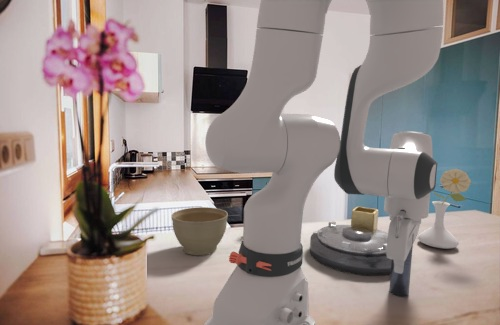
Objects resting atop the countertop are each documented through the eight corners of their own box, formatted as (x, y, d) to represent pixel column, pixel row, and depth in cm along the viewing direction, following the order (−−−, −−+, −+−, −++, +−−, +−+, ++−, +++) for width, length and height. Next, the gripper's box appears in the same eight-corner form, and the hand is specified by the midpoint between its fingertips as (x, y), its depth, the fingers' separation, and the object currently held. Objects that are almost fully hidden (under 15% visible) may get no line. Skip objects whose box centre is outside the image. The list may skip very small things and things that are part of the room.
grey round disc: (390, 263, 80) (392, 233, 79) (305, 243, 92) (306, 217, 91) (404, 237, 99) (406, 213, 98) (332, 224, 111) (333, 202, 110)
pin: (407, 298, 72) (412, 236, 71) (387, 293, 74) (392, 232, 73) (409, 291, 76) (414, 231, 74) (391, 286, 78) (395, 228, 76)
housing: (396, 285, 78) (397, 267, 77) (295, 259, 92) (295, 243, 91) (411, 251, 100) (412, 237, 99) (327, 234, 114) (328, 221, 113)
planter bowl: (215, 237, 108) (216, 204, 107) (236, 255, 94) (236, 218, 93) (166, 244, 101) (165, 209, 100) (179, 265, 87) (179, 224, 85)
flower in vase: (412, 245, 105) (419, 167, 102) (422, 236, 114) (428, 164, 111) (461, 256, 97) (469, 171, 94) (467, 246, 105) (475, 168, 102)
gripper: (416, 219, 62) (410, 289, 64) (426, 199, 79) (422, 255, 81) (380, 213, 66) (376, 280, 67) (398, 196, 83) (394, 249, 84)
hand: (401, 266), depth 74 cm, fingers open, 5 cm apart
